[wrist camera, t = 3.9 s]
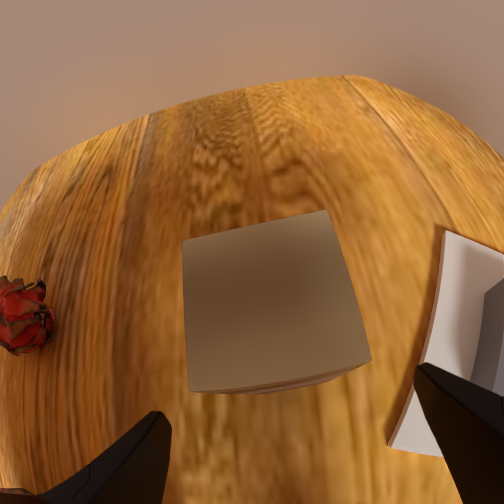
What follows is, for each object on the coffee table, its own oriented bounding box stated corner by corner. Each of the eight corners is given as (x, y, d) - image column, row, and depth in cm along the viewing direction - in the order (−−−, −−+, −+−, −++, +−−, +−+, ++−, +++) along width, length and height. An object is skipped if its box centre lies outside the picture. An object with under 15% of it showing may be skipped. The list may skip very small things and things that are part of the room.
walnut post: (327, 381, 17) (372, 360, 6) (262, 393, 17) (189, 391, 6) (315, 320, 19) (326, 209, 8) (253, 333, 20) (182, 240, 9)
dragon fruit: (23, 323, 26) (86, 330, 26) (-9, 363, 18) (54, 383, 18) (-1, 266, 22) (60, 262, 22) (-43, 301, 15) (10, 308, 15)
